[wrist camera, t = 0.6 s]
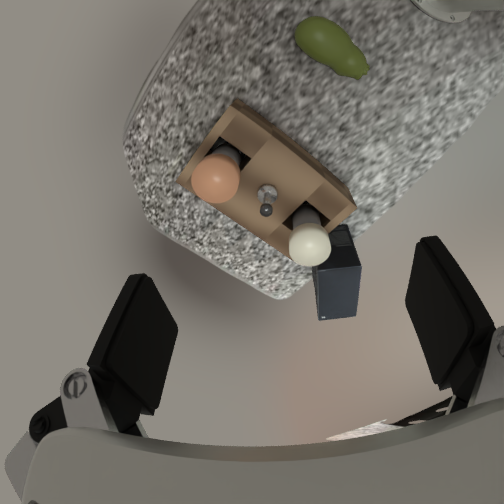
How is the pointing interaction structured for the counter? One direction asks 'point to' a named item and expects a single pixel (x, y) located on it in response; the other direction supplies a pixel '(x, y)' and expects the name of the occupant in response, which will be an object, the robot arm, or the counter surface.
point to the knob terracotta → (218, 174)
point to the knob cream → (308, 237)
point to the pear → (331, 46)
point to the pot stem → (267, 199)
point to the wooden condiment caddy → (272, 177)
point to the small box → (338, 277)
